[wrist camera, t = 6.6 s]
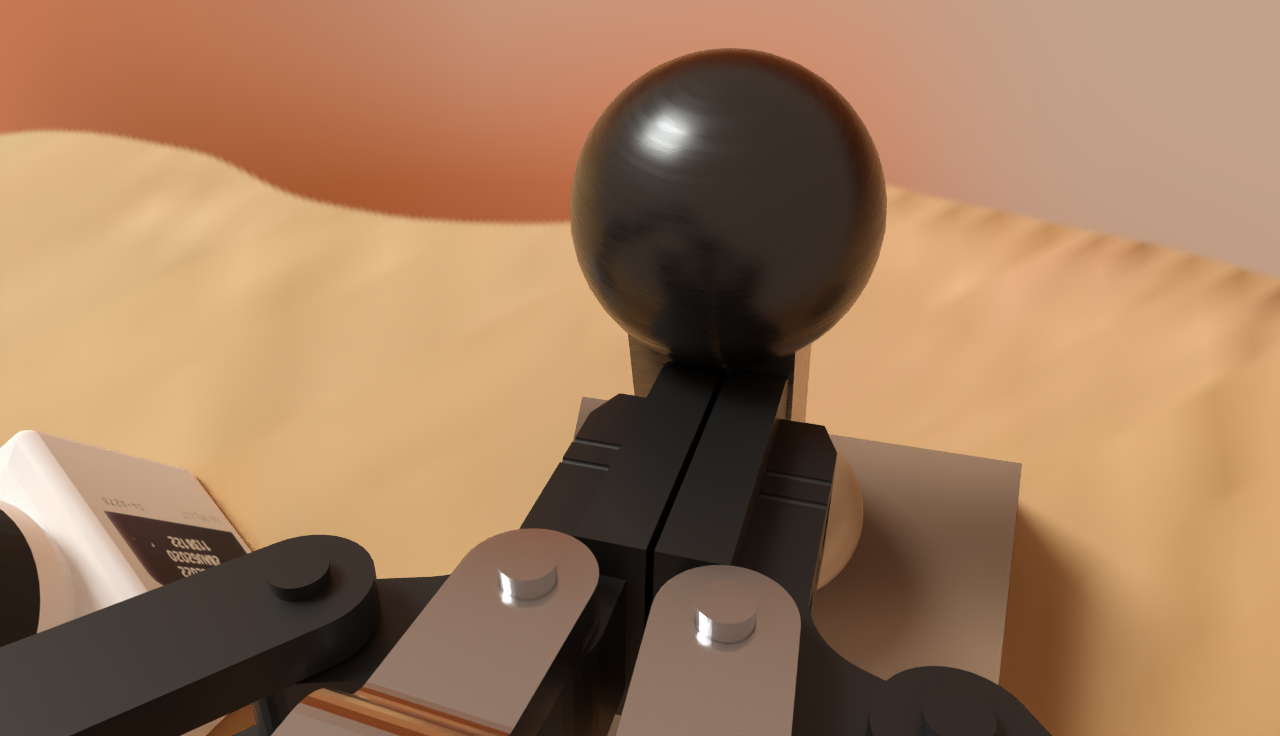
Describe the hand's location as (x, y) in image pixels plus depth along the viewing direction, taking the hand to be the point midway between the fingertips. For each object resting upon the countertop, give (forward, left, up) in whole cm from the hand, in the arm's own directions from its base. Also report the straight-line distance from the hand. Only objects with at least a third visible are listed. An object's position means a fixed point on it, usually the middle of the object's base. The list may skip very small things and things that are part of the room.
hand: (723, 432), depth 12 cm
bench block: (+3, -5, -19) cm, 20 cm away
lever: (+3, -6, -14) cm, 16 cm away
